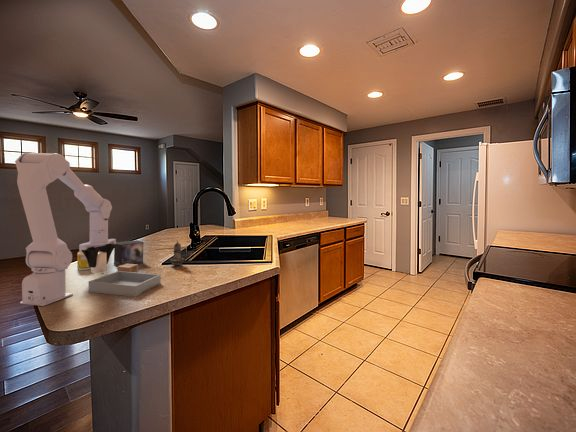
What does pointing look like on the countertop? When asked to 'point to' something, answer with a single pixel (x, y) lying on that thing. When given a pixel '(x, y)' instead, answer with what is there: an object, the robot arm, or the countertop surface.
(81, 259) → the supplement bottle
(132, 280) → the tote
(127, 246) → the small box
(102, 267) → the beige round piece
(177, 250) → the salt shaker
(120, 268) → the walnut cube
